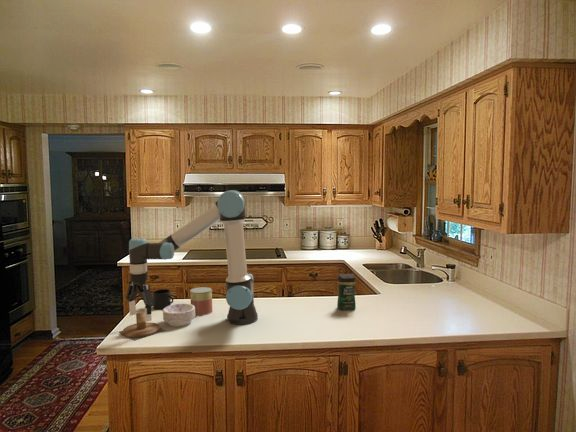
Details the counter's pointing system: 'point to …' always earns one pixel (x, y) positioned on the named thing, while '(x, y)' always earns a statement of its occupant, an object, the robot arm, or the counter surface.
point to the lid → (141, 327)
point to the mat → (141, 337)
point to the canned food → (201, 300)
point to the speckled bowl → (179, 314)
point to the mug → (161, 299)
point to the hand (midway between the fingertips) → (140, 317)
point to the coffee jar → (346, 292)
